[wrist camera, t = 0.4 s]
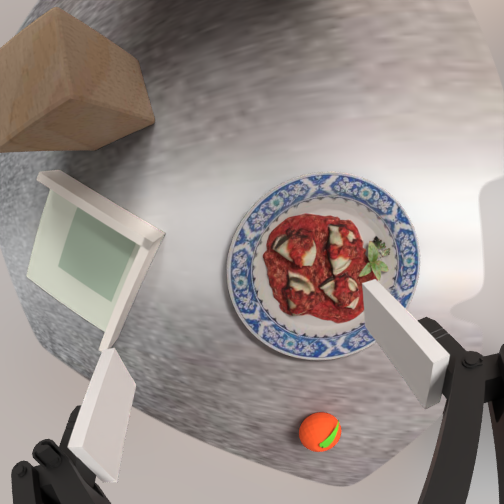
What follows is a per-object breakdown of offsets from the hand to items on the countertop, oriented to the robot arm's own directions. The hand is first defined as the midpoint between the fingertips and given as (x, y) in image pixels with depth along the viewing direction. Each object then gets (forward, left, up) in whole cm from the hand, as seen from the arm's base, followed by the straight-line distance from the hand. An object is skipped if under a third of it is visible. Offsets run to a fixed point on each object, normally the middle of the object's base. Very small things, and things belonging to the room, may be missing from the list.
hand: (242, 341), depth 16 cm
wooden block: (-16, -21, -27) cm, 37 cm away
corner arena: (+6, -26, -26) cm, 37 cm away
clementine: (+30, +13, -27) cm, 43 cm away
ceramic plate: (+4, +9, -27) cm, 29 cm away
